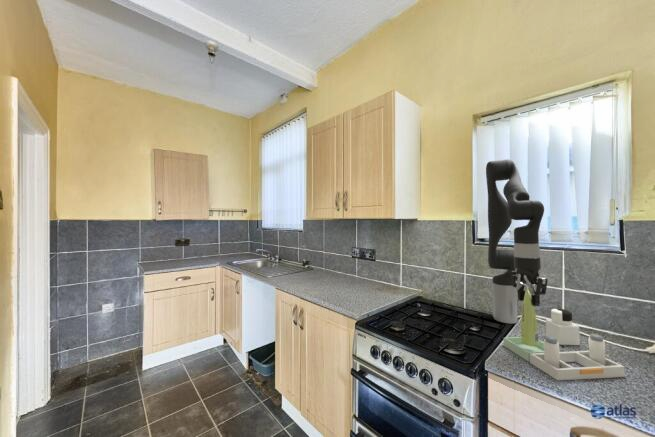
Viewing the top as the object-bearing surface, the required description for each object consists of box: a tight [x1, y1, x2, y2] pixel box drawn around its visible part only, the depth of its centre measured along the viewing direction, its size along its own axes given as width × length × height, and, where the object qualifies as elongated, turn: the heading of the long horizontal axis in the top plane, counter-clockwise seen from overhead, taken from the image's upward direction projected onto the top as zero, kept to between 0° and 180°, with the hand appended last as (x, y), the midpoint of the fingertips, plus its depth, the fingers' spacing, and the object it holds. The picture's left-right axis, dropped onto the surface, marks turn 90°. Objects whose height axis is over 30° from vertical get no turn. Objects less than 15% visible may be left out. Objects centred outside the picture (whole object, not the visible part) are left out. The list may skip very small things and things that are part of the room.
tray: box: [503, 336, 561, 363], centre depth 91 cm, size 11×11×3 cm
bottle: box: [543, 335, 560, 369], centre depth 80 cm, size 4×4×10 cm
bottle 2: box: [588, 333, 607, 366], centre depth 81 cm, size 4×4×10 cm
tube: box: [520, 286, 540, 346], centre depth 91 cm, size 6×5×20 cm
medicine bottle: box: [545, 308, 581, 346], centre depth 99 cm, size 7×7×12 cm
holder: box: [530, 350, 626, 381], centre depth 80 cm, size 10×21×3 cm, turn 93°
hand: (528, 302), depth 91 cm, fingers closed on tube, 5 cm apart
